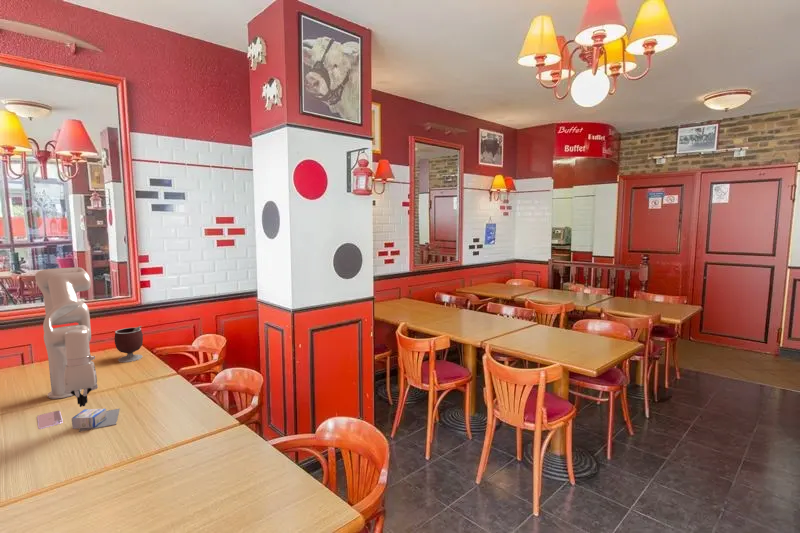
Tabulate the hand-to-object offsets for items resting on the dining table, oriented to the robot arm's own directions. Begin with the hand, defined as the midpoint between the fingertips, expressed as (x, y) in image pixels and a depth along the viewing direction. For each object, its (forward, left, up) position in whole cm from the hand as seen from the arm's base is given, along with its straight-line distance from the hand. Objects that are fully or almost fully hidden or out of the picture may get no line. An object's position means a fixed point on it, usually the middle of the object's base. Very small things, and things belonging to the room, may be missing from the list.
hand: (82, 405), depth 172 cm
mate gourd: (-83, +11, -8) cm, 85 cm away
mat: (0, +5, -7) cm, 9 cm away
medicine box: (+1, -2, -5) cm, 5 cm away
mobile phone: (-10, -13, -8) cm, 18 cm away
